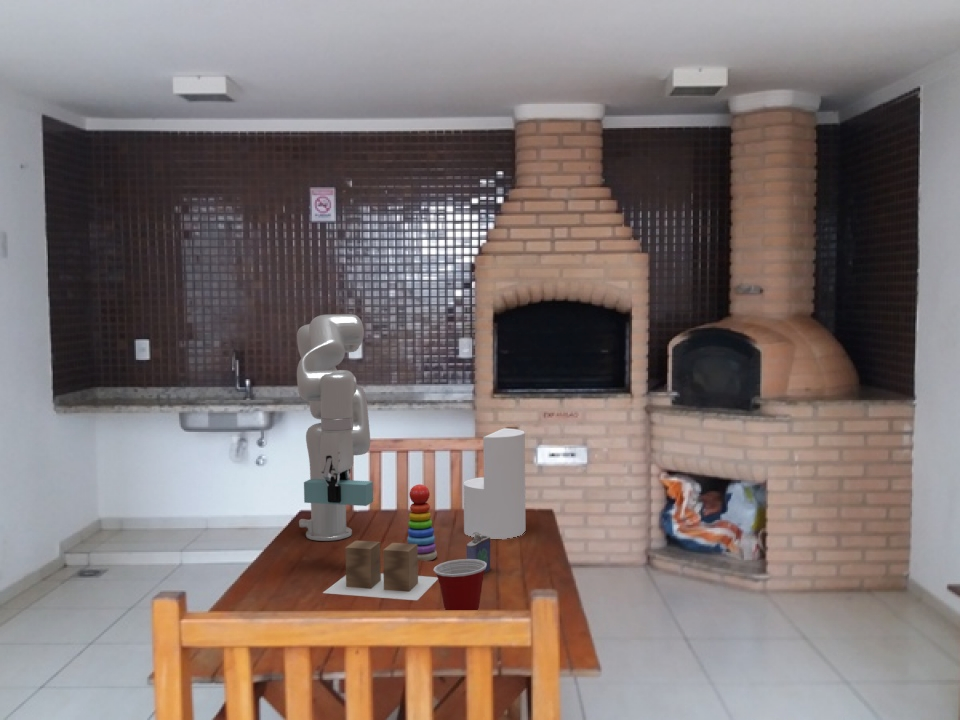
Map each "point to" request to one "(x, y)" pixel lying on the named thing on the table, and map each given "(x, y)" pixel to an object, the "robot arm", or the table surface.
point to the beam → (350, 492)
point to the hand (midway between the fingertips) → (338, 499)
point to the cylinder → (498, 488)
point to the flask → (479, 549)
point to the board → (379, 591)
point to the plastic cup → (461, 583)
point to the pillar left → (363, 564)
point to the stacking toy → (421, 524)
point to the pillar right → (400, 567)
